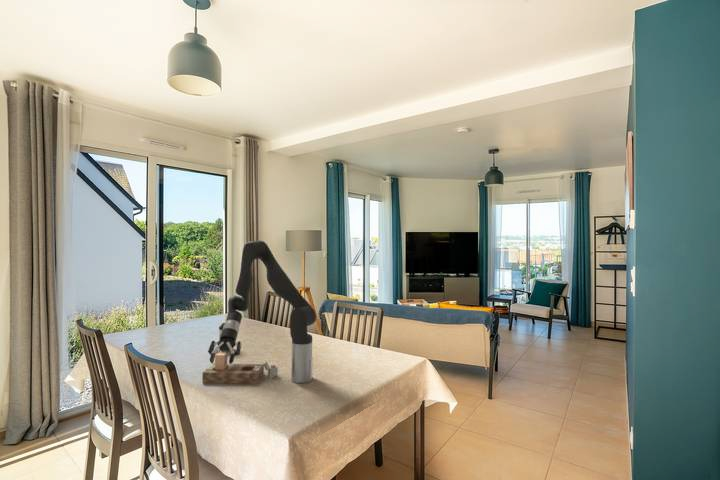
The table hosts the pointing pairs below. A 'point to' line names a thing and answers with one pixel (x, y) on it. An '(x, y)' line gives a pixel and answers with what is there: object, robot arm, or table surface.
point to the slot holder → (234, 374)
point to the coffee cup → (221, 331)
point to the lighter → (271, 370)
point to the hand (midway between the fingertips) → (220, 362)
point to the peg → (221, 361)
